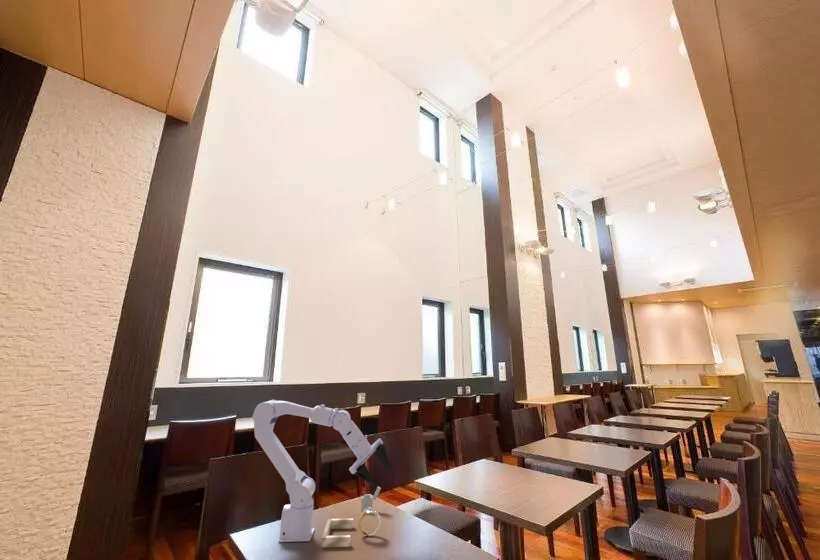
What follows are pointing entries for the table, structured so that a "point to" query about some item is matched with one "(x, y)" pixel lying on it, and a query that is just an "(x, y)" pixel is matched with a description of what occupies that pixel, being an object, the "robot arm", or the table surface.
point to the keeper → (340, 539)
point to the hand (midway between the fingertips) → (381, 476)
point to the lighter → (369, 500)
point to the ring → (368, 510)
